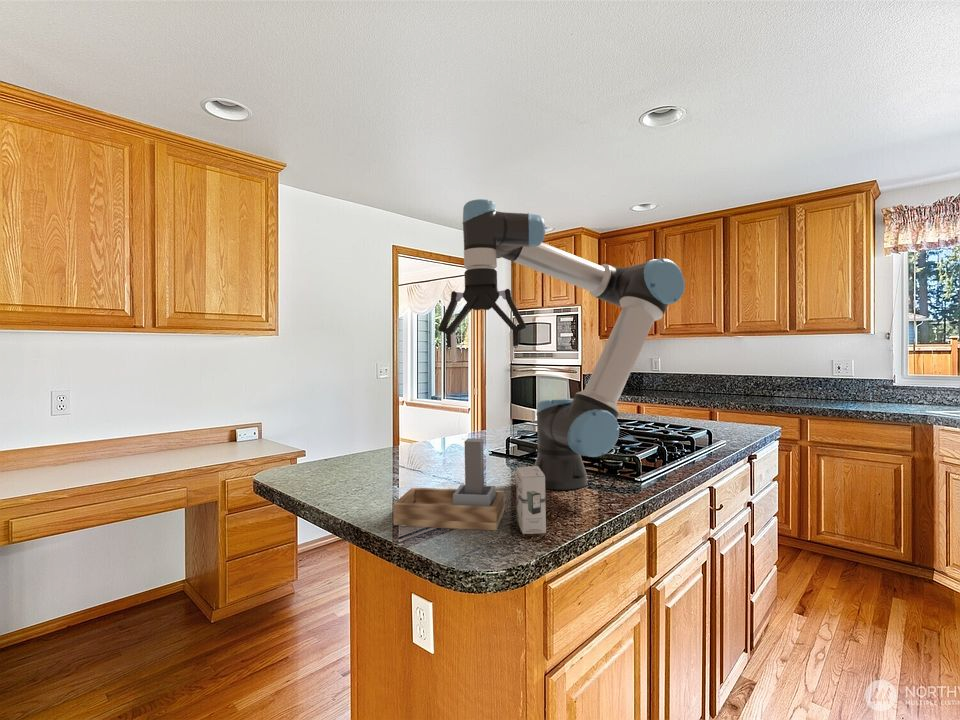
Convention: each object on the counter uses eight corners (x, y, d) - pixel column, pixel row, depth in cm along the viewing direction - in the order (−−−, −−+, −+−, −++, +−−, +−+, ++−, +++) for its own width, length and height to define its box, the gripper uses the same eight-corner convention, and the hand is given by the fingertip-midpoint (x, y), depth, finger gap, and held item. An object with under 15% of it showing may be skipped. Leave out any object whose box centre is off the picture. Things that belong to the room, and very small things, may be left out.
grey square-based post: (495, 505, 113) (494, 437, 113) (490, 517, 105) (489, 443, 105) (461, 503, 114) (459, 436, 114) (453, 515, 107) (451, 443, 106)
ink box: (515, 520, 108) (515, 465, 108) (538, 519, 109) (537, 465, 109) (522, 534, 100) (521, 475, 100) (546, 533, 100) (546, 474, 100)
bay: (504, 510, 115) (504, 490, 115) (496, 530, 102) (496, 508, 102) (412, 506, 119) (412, 487, 119) (393, 525, 106) (393, 504, 106)
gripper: (535, 269, 118) (537, 359, 118) (432, 274, 122) (434, 362, 122) (534, 264, 110) (536, 360, 111) (423, 269, 114) (426, 363, 115)
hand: (483, 361), depth 116 cm, fingers open, 13 cm apart
